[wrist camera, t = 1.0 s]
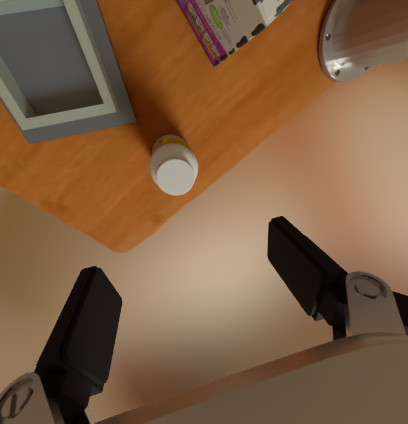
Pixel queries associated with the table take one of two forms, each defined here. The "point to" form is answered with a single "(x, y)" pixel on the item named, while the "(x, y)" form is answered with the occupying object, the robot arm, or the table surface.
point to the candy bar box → (229, 22)
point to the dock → (59, 69)
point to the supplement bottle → (173, 165)
